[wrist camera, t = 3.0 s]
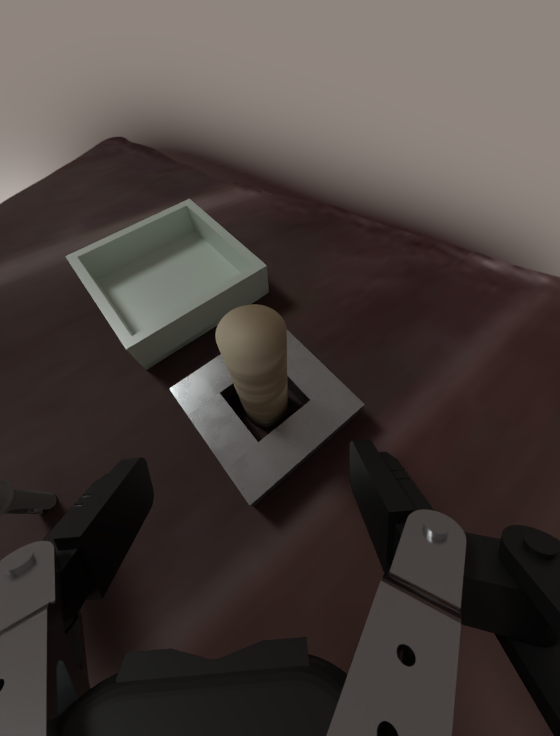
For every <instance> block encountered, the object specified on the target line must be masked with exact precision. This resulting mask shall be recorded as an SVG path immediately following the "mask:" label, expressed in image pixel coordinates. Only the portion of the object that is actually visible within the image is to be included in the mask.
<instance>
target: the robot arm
mask: <svg viewBox="0 0 560 736" xmlns="http://www.w3.org/2000/svg"><path fill="white" fill-rule="evenodd" d="M350 483H351V488H352V491H353V494H354V497H355V499H356V502H357V504H358V507H359V509H360V512H361V515H362V517H363V520H364V522H365V525H366V527H367V530H368V532H369V535H370V538H371V540H372V543H373V545H374V548H375V550H376V553H377V555H378V558H379V561H380V563H381V566H382V568H383V571H384V573H385V574H384V575H383V577H382V579H381V581H380V584H379V587H378V590H377V593H376V596H375V598H374V601H373V604H372V607H371V610H370V613H369V615H368V618H367V621H366V624H365V627H364V630H363V633H362V635H361V638H360V641H359V644H358V647H357V650H356V653H355V655H354V658H353V661H352V664H351V667H350V670H349V673H348V675H347V674H346V673H345V672H344V671H342V670H341V669H340V668H338V667H337V666H335V665H333V664H332V663H330V662H329V661H326V660H324V659H322V658H319V657H317V656H313V655H309V654H308V648H307V638H306V637H300V638H289V639H277V640H265V641H261V642H258V643H256V644H253V645H251V646H248V647H246V648H244V649H241V650H239V651H236V652H234V653H231V654H229V655H227V656H224V657H222V658H219V659H216V660H211V659H207V658H203V657H199V656H196V655H192V654H188V653H185V652H181V651H177V650H174V649H161V650H149V651H138V652H126V655H125V657H124V660H123V662H122V665H121V667H120V670H119V672H118V673H117V674H115V675H113V676H111V677H109V678H107V679H105V680H103V681H102V682H100V683H99V684H97V685H96V686H94V687H93V688H91V689H90V685H89V679H88V671H87V661H86V652H85V642H84V632H83V623H82V616H81V613H80V608H81V607H82V605H83V603H84V602H85V600H93V599H103V597H104V595H105V593H106V591H107V589H108V587H109V586H110V584H111V582H112V580H113V578H114V576H115V574H116V573H117V571H118V569H119V567H120V565H121V563H122V561H123V559H124V558H125V556H126V554H127V552H128V550H129V548H130V546H131V545H132V543H133V541H134V539H135V537H136V535H137V533H138V532H139V530H140V528H141V526H142V524H143V522H144V520H145V518H146V517H147V515H148V513H149V511H150V509H151V507H152V504H153V499H154V491H153V487H152V483H151V479H150V475H149V470H148V466H147V463H146V460H145V459H144V458H131V459H122V460H120V461H119V463H118V464H117V465H116V466H115V467H114V468H113V470H112V471H111V472H110V473H109V474H106V475H104V476H103V477H102V478H100V479H99V480H97V481H96V482H94V483H93V484H92V485H91V486H90V487H89V488H88V490H87V491H86V492H85V493H84V494H83V497H80V499H79V500H78V501H77V502H76V503H75V504H74V507H71V509H70V510H69V511H68V512H67V513H66V514H65V515H64V516H63V518H62V519H61V520H60V521H59V522H58V523H57V524H56V525H55V526H54V528H53V529H52V530H51V531H50V532H49V533H48V534H47V535H46V537H45V538H44V539H43V540H42V541H38V542H34V543H31V544H28V545H26V546H23V547H21V548H19V549H17V550H16V551H14V552H12V553H11V554H9V555H8V556H6V557H5V558H4V559H2V560H1V561H0V736H452V726H453V714H454V702H455V690H456V678H457V666H458V654H459V642H460V630H461V624H462V625H466V626H470V627H473V628H477V629H481V630H484V631H488V632H491V633H494V634H495V635H496V637H497V639H498V641H499V642H500V644H501V646H502V647H503V649H504V651H505V653H506V654H507V656H508V658H509V659H510V661H511V663H512V665H513V666H514V668H515V670H516V671H517V673H518V675H519V676H520V678H521V680H522V682H523V683H524V685H525V687H526V688H527V690H528V692H529V694H530V695H531V697H532V699H533V700H534V702H535V704H536V705H537V707H538V709H539V711H540V712H541V714H542V716H543V717H544V719H545V721H546V723H547V724H548V726H549V728H550V729H551V731H552V733H553V734H554V736H560V541H559V540H558V539H556V538H554V537H553V536H551V535H549V534H547V533H545V532H543V531H540V530H538V529H535V528H532V527H528V526H522V525H512V526H509V527H507V528H505V529H504V530H503V532H502V536H501V539H497V538H492V537H486V536H481V535H476V534H471V533H467V532H464V531H463V530H462V528H461V527H460V526H459V525H458V524H457V523H456V522H455V521H454V520H453V519H451V518H450V517H448V516H446V515H444V514H442V513H440V512H437V511H434V510H433V508H432V507H431V505H430V504H429V503H428V501H427V500H426V498H425V497H424V496H423V494H422V493H421V491H420V490H419V489H418V487H417V486H416V485H415V483H414V482H413V480H411V478H410V476H409V475H408V473H407V472H406V471H405V469H404V468H403V466H402V465H401V464H400V462H399V461H398V460H397V459H396V458H394V457H393V456H392V455H390V454H389V453H387V452H378V451H377V449H376V448H375V446H374V444H373V443H372V441H371V440H361V441H351V442H350Z"/></svg>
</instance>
